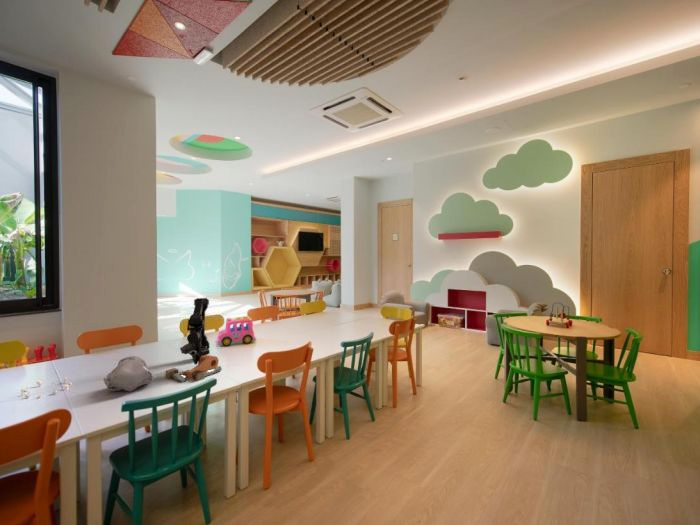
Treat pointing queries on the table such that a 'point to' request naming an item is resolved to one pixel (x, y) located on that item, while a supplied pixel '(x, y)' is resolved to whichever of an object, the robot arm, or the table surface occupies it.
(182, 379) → the hex bolt
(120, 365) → the grey rock
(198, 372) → the shaft
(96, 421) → the table surface
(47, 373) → the table surface
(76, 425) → the table surface
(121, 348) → the table surface
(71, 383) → the game piece set
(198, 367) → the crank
